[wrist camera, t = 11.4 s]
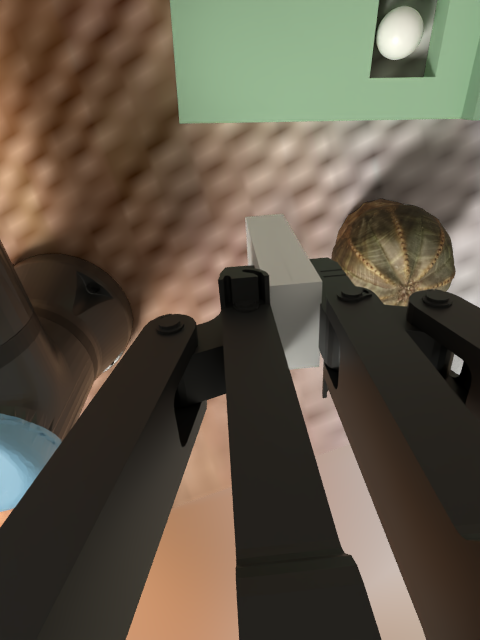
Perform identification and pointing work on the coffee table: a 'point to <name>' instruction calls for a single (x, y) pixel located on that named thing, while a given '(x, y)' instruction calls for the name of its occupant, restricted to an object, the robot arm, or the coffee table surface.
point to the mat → (316, 63)
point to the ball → (399, 32)
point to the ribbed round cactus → (394, 251)
